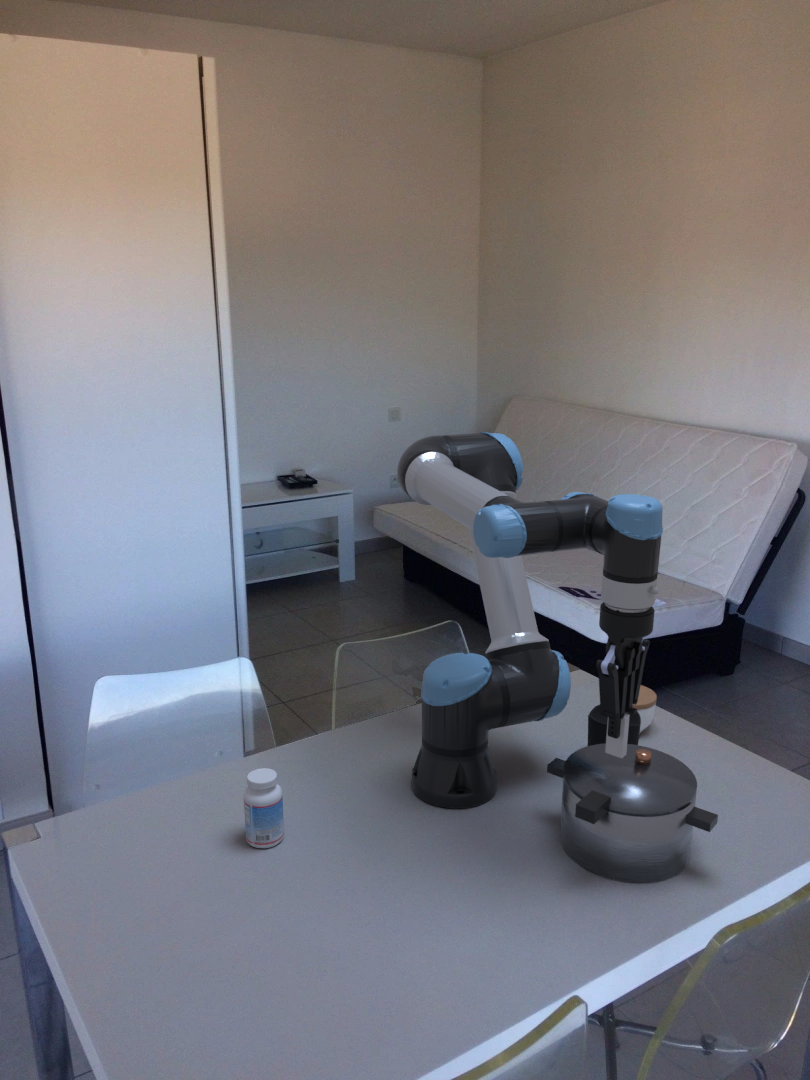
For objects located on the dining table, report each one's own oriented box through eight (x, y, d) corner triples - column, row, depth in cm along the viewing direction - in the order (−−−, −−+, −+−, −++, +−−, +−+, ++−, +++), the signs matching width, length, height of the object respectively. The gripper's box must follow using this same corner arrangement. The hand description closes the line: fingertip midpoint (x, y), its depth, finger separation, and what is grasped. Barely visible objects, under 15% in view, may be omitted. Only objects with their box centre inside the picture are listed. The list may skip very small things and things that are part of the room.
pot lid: (524, 797, 131) (524, 781, 131) (599, 738, 150) (600, 723, 149) (650, 848, 119) (652, 829, 118) (716, 776, 138) (717, 760, 137)
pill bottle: (291, 833, 141) (289, 770, 139) (270, 853, 136) (267, 788, 133) (259, 824, 144) (257, 762, 141) (238, 844, 139) (234, 780, 136)
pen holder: (647, 770, 161) (651, 720, 158) (604, 780, 158) (608, 730, 155) (617, 747, 169) (620, 700, 167) (575, 756, 166) (578, 708, 163)
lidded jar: (655, 743, 171) (659, 699, 169) (599, 738, 173) (602, 694, 171) (652, 719, 181) (655, 677, 179) (599, 714, 183) (601, 672, 181)
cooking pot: (517, 840, 140) (520, 778, 137) (577, 788, 155) (581, 732, 152) (682, 911, 123) (688, 842, 120) (731, 846, 138) (738, 783, 136)
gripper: (632, 622, 118) (619, 779, 124) (671, 598, 127) (657, 745, 134) (582, 610, 122) (572, 762, 128) (623, 587, 132) (612, 730, 138)
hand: (615, 753), depth 131 cm, fingers closed
